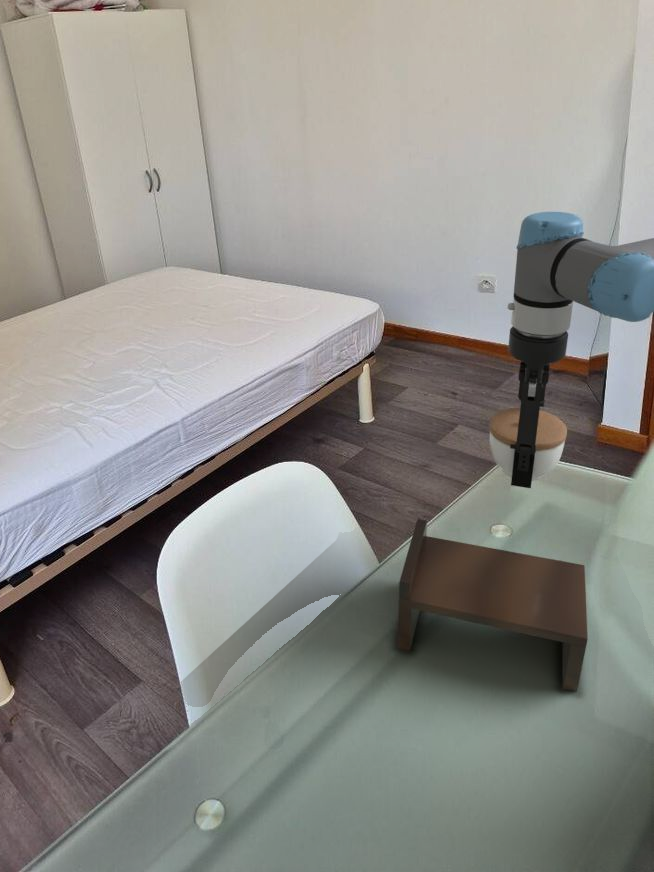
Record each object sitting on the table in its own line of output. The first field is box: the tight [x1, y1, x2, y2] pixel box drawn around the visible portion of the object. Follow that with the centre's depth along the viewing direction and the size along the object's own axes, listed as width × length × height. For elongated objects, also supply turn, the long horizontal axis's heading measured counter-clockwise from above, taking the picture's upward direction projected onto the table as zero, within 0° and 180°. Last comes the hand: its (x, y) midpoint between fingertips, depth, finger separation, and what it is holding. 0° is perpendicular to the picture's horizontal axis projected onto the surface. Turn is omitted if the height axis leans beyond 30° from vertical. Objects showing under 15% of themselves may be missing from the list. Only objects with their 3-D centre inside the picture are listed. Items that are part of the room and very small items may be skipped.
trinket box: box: [488, 407, 568, 481], centre depth 102 cm, size 11×11×9 cm
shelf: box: [396, 518, 589, 693], centre depth 98 cm, size 24×14×13 cm, turn 70°
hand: (523, 464), depth 103 cm, fingers closed on trinket box, 11 cm apart
